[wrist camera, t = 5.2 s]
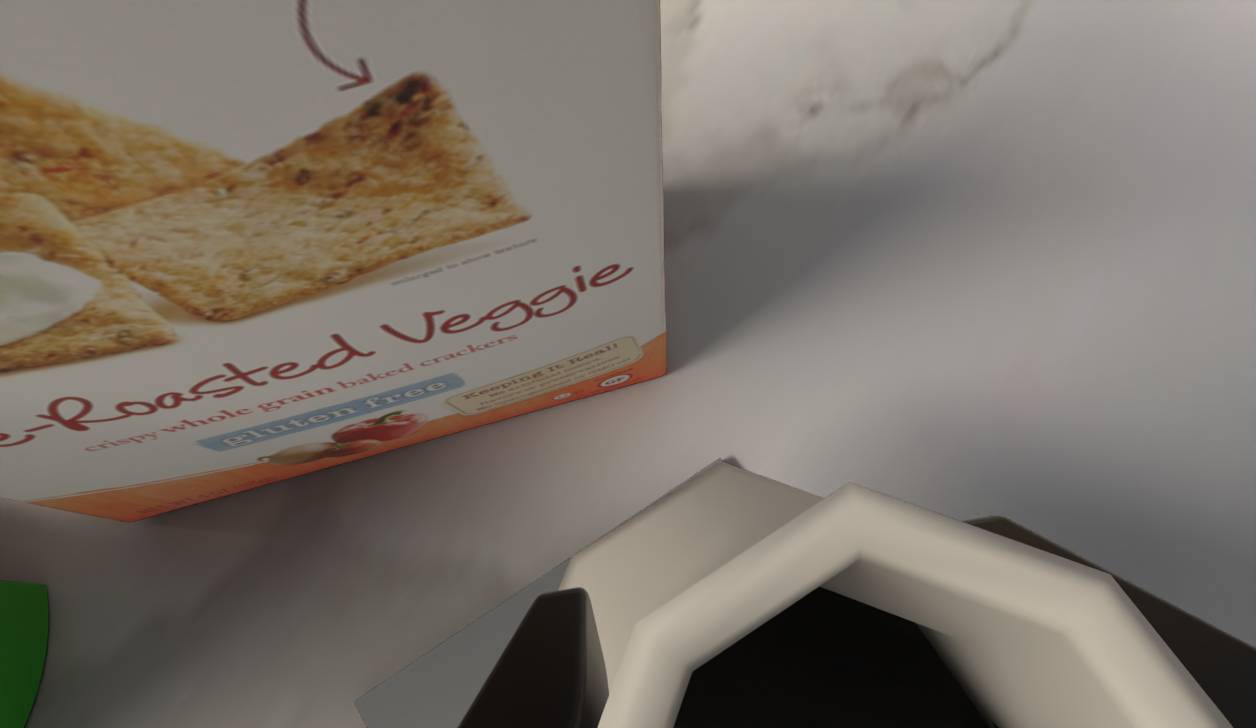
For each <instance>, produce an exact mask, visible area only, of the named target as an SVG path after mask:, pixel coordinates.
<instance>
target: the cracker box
mask: <svg viewBox="0 0 1256 728" xmlns="http://www.w3.org/2000/svg"><path fill="white" fill-rule="evenodd" d="M666 342H667V336H666V314H665V272H664V203H663V160H662V116H661V27H660V0H0V498H5V499H10V500H17V501H23V502H27V503H32V504H36V505H40V506H45V507H50V508H55V509H59V510H65V511H70V512H76V513H82V514H87V515H92V516H97V517H102V518H109V519H113V520H117V521H123V522H135V521H138V520H141V519H144V518H147V517H150V516H153V515H157V514H161V513H164V512H168V511H172V510H175V509H178V508H181V507H184V506H189V505H193V504H197V503H200V502H204V501H208V500H212V499H215V498H219V497H223V496H226V495H230V494H234V493H237V492H241V491H244V490H248V489H252V488H255V487H259V486H262V485H266V484H269V483H272V482H276V481H280V480H284V479H288V478H292V477H295V476H299V475H303V474H306V473H310V472H313V471H317V470H320V469H324V468H328V467H331V466H335V465H338V464H342V463H346V462H349V461H353V460H357V459H360V458H364V457H368V456H372V455H375V454H379V453H383V452H386V451H390V450H394V449H397V448H401V447H405V446H408V445H412V444H416V443H419V442H423V441H427V440H430V439H434V438H438V437H441V436H445V435H448V434H452V433H456V432H459V431H463V430H467V429H470V428H474V427H477V426H481V425H485V424H488V423H492V422H496V421H499V420H503V419H506V418H510V417H514V416H518V415H521V414H525V413H529V412H532V411H536V410H540V409H543V408H547V407H551V406H554V405H558V404H562V403H565V402H569V401H573V400H576V399H580V398H583V397H587V396H591V395H594V394H598V393H602V392H606V391H609V390H613V389H616V388H620V387H624V386H627V385H631V384H635V383H639V382H642V381H646V380H649V379H653V378H656V377H659V376H662V375H664V374H665V373H666V370H667V369H666Z"/></svg>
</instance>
